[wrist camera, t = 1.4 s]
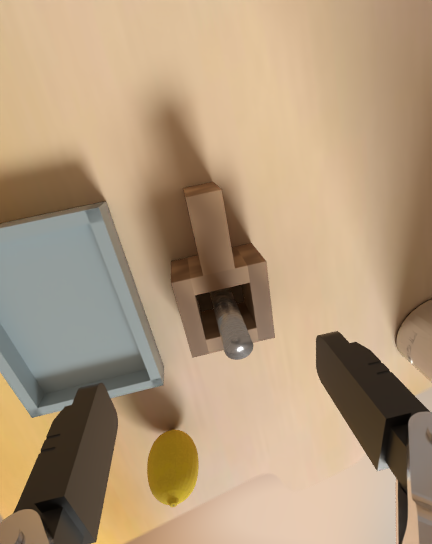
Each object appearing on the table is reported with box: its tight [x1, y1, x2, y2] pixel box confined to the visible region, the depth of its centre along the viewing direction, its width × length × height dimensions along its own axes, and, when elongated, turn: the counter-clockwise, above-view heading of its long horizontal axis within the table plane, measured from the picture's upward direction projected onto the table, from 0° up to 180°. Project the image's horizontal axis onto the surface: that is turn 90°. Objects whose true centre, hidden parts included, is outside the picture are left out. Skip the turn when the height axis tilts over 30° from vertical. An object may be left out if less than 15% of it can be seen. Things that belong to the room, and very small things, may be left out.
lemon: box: [147, 429, 198, 507], centre depth 31 cm, size 6×6×8 cm
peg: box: [209, 287, 253, 360], centre depth 23 cm, size 2×2×9 cm
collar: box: [171, 182, 275, 358], centre depth 24 cm, size 8×14×4 cm, turn 9°
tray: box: [0, 201, 164, 418], centre depth 25 cm, size 13×18×2 cm
